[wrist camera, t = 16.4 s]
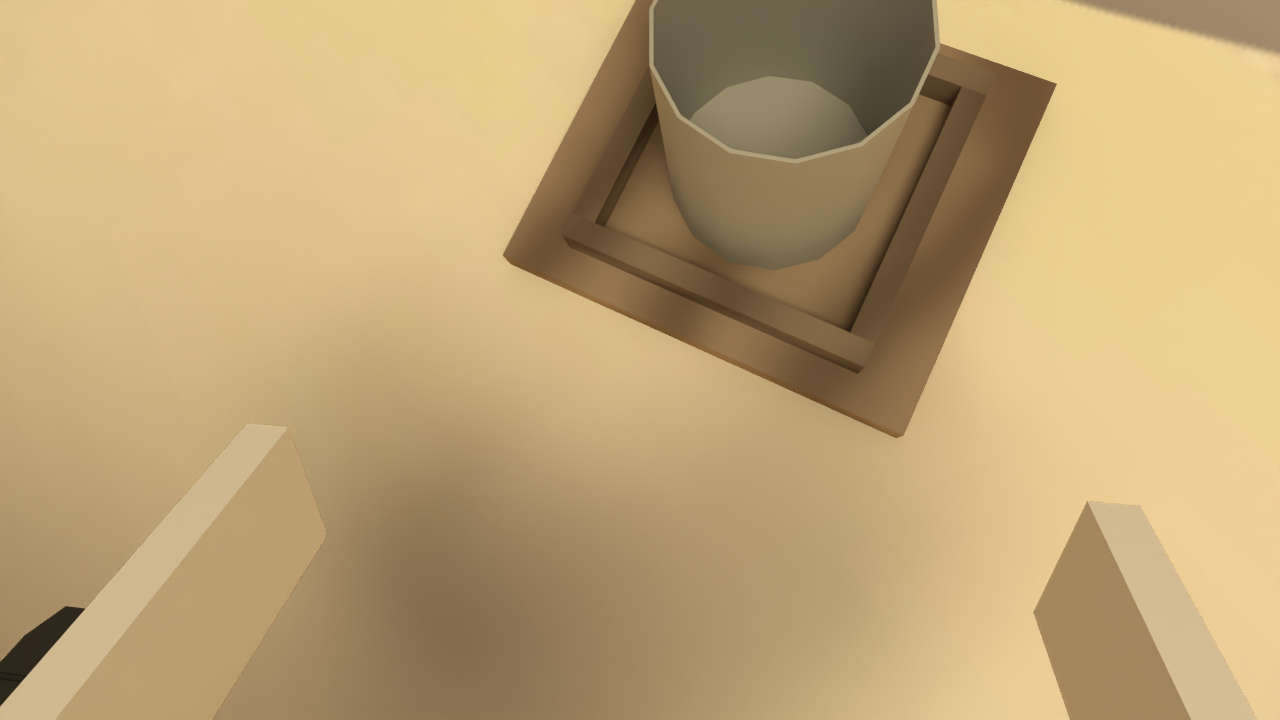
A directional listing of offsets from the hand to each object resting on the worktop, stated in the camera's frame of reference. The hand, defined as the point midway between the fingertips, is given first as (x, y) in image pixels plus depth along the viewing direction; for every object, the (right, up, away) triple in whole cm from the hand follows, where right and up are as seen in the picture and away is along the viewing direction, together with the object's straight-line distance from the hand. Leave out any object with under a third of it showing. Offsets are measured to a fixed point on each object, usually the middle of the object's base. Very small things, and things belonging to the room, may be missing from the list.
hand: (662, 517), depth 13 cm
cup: (+5, +11, +19) cm, 22 cm away
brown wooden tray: (+5, +10, +20) cm, 23 cm away
